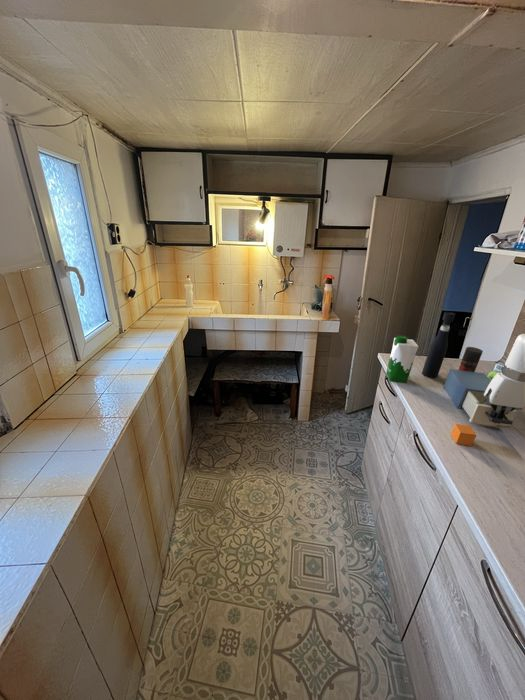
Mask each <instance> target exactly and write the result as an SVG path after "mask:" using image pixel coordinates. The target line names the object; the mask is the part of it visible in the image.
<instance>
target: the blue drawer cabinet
mask: <svg viewBox="0 0 525 700" xmlns="http://www.w3.org/2000/svg"><path fill="white" fill-rule="evenodd" d="M446 376H447V377H446V379H445V382H444V385H443V389H444V391H445V393H447V395H448V396H449V398H450V399H451V401H452V402H453V404H454V405H455V407H456V409H459V410H464V408H463V407H462V405H461V404H462V402H463V399H464V397H465V394H466V392H467V390H468V391H475V392H482V393H485V391H486V389H487V387H488V385H489V384H490V382H491V380H492V379H490V377H488V376H487V374H485V373H484V372H478V371H475V372H471V371H463V370H458V369H454V368H449V371H448V374H447V375H446Z"/></svg>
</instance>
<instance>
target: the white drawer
mask: <svg viewBox="0 0 525 700" xmlns="http://www.w3.org/2000/svg"><path fill="white" fill-rule="evenodd" d="M485 398H486V397H485V396H484V393H482V392H475V391H468V390H467V392H466V394H465V397H464V399H463V402H462V404H461V405H462V407H463V408H464V409H463V411H465V412H466V414H467V415H468V417H469V419H468V420H469V423H471V424H479V425H485V426H489V427H490V426H491V427H498V426H500V427H501V426H502V427H510V426H512V425H513V423H514V422H513V419H514V417H515V415H516V413H517V410H513V411H510V412H509V413H508V414H505V416H504V418H503V419H498V418H492V417H491V416H490V415H491V412H492V410H493V408H492V407H491V406H488V405H485V404H484V402H483V401H484V400H485ZM494 422H496V423H494ZM498 423H500V424H498Z"/></svg>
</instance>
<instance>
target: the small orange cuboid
mask: <svg viewBox="0 0 525 700" xmlns="http://www.w3.org/2000/svg"><path fill="white" fill-rule="evenodd" d="M450 436H451V437H452V439H453V441H454V442H455V444H456V445H463V446H468V447H472V446H473V444H474V442H475V440H476V438H477V436H478V435H477V433H476V432H475V431H474V429H473V428H472V426H471V425H466V424H461V423H454V426H453V428H452V430H451V433H450Z"/></svg>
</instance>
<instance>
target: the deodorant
mask: <svg viewBox="0 0 525 700" xmlns="http://www.w3.org/2000/svg"><path fill="white" fill-rule="evenodd" d="M483 352H484V350H482V349H480V348H479V347H474V346H467V347H466V348H465V350H464V353H463V356H462V358H461V361H460V363H459V366H458V369H457V370H463V371H471V372H476V370H477V367H478V364H479V362H480V359H481V357H482V354H483Z"/></svg>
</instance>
